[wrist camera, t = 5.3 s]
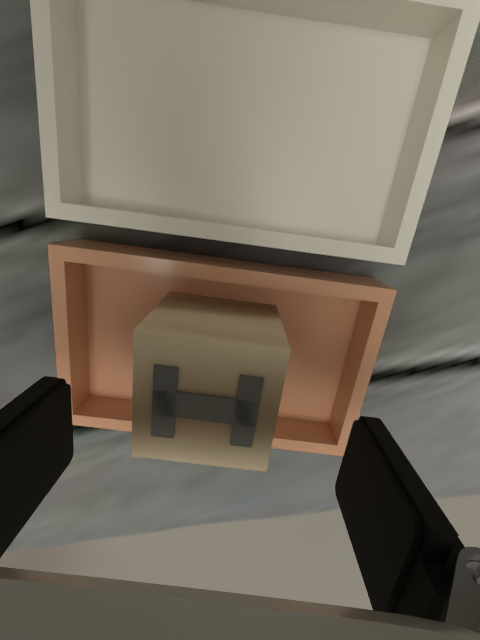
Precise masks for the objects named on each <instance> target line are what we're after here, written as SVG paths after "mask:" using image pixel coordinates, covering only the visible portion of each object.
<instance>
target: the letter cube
mask: <svg viewBox="0 0 480 640" xmlns="http://www.w3.org/2000/svg"><path fill="white" fill-rule="evenodd" d="M290 352H291V348H290V345H289V342H288V339H287V336H286V333H285V330H284V327H283V324H282V322H281V319H280V316H279V313H278V310H277V307H276V305H271V304H263V303H255V302H247V301H240V300H232V299H224V298H216V297H209V296H201V295H193V294H186V293H178V292H169V293H168V294H167V295H166V296H165V297H164V298H163V299H162V300H161V301H160V303H159V304H158V305H157V306H156V307H155V308H154V309H153V310H152V311H151V312H150V313H149V314H148V315H147V316H146V317H145V318H144V319H143V321H142V322H141V323H140V324H139V325H138V326H137V327H136V328H135V329H134V332H133V388H132V445H131V456H132V457H141V458H150V459H159V460H168V461H176V462H185V463H194V464H203V465H212V466H220V467H229V468H238V469H247V470H256V471H264V472H266V471H267V466H268V461H269V456H270V451H271V446H272V441H273V436H274V431H275V426H276V422H277V417H278V412H279V407H280V402H281V397H282V392H283V387H284V382H285V377H286V372H287V367H288V362H289V357H290Z"/></svg>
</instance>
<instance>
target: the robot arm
mask: <svg viewBox="0 0 480 640" xmlns="http://www.w3.org/2000/svg"><path fill="white" fill-rule="evenodd" d="M73 451H74V450H73V426H72V402H71V386H70V384H67V383H66V381H65V379H63V378H56V377H48V376H44V377H43V378H41V379H40V380H38V381H37V382H36V383H35V384H33V385H32V386H31V387H29V388H28V389H27V390H25V391H24V392H23V393H21V394H20V395H19V396H18V397H16V398H15V399H14V400H12V401H11V402H10V403H8V404H7V405H6V406H4V407H3V408H2V409H1V410H0V558H1V556H2V555H3V553H4V552H5V551H6V549H7V548H8V547H9V545H10V544H11V543H12V541H13V540H14V538H15V537H16V536H17V534H18V533H19V532H20V530H21V529H22V528H23V526H24V525H25V523H26V522H27V521H28V519H29V518H30V517H31V515H32V514H33V513H34V511H35V510H36V508H37V507H38V506H39V504H40V503H41V502H42V500H43V499H44V498H45V496H46V495H47V493H48V492H49V491H50V489H51V488H52V487H53V485H54V484H55V483H56V481H57V480H58V478H59V477H60V476H61V474H62V473H63V472H64V470H65V469H66V468H67V466H68V465H69V463H70V462H71V459H72V457H73ZM335 492H336V497H337V500H338V503H339V506H340V509H341V512H342V515H343V518H344V521H345V524H346V528H347V531H348V534H349V537H350V540H351V543H352V546H353V549H354V552H355V555H356V558H357V562H358V565H359V568H360V571H361V574H362V577H363V580H364V583H365V586H366V589H367V592H368V596H369V599H370V602H371V605H372V608H373V610H366V609H359V608H352V607H345V606H337V605H329V604H321V603H313V602H304V601H296V600H288V599H279V598H271V597H263V596H254V595H246V594H238V593H229V592H220V591H212V590H204V589H194V588H186V587H178V586H169V585H159V584H151V583H142V582H133V581H125V580H116V579H107V578H98V577H88V576H80V575H70V574H61V573H51V572H43V571H33V570H24V569H14V568H5V567H0V640H480V548H477V547H466V548H465V547H464V545H463V544H462V542H461V541H460V539H459V538H458V534H457V532H456V531H455V529H454V528H453V526H452V525H451V524H450V522H449V520H448V519H447V517H446V516H445V514H444V513H443V511H442V510H441V508H440V507H439V505H438V504H437V502H436V501H435V499H434V498H433V496H432V495H431V493H430V492H429V490H428V489H427V487H426V486H425V485H424V483H423V482H422V480H421V479H420V477H419V476H418V474H417V473H416V471H415V470H414V468H413V467H412V465H411V464H410V462H409V461H408V459H407V458H406V456H405V455H404V453H403V452H402V450H401V449H400V447H399V446H398V444H397V443H396V441H395V440H394V438H393V437H392V435H391V434H390V432H389V431H388V430H387V428H386V427H385V425H384V424H383V422H382V421H381V420H380V419H379V418H373V417H365V416H361V417H360V418H359V420H354V422H353V424H352V428H351V431H350V435H349V438H348V442H347V445H346V449H345V452H344V456H343V459H342V463H341V467H340V470H339V474H338V477H337V481H336V485H335Z"/></svg>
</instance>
